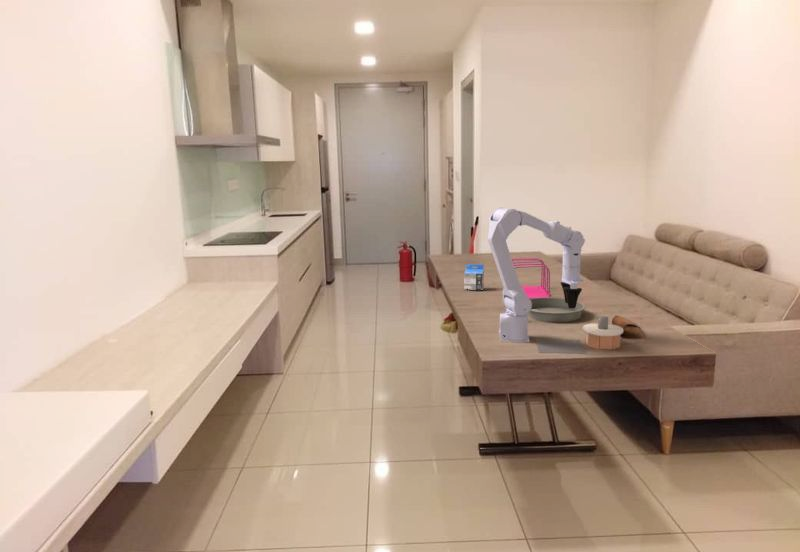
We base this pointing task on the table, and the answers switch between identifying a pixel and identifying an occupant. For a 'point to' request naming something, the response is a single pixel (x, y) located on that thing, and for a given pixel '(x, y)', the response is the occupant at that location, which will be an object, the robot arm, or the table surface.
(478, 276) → the label tape box
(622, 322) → the sunglasses case
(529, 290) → the file sorter
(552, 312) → the cake pan
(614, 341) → the bowl
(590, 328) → the lid
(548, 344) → the mat
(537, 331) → the table surface
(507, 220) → the robot arm
